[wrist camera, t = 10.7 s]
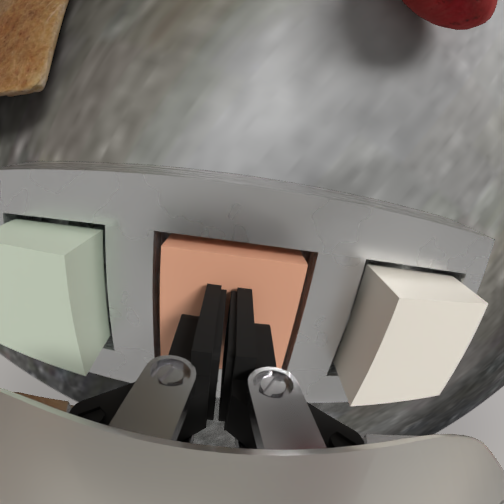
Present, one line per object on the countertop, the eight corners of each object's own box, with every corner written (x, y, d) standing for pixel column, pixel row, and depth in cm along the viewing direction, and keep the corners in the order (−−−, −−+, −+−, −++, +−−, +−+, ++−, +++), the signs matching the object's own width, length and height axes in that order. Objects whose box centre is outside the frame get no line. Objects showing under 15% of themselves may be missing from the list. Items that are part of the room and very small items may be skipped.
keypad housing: (449, 218, 15) (494, 239, 11) (399, 354, 18) (424, 393, 14) (33, 161, 13) (-15, 170, 9) (45, 311, 16) (13, 344, 12)
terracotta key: (294, 239, 13) (307, 265, 10) (273, 334, 15) (279, 373, 12) (178, 224, 13) (161, 245, 10) (173, 322, 14) (160, 359, 12)
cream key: (451, 275, 12) (488, 303, 9) (415, 360, 13) (439, 395, 11) (366, 264, 11) (399, 297, 9) (333, 362, 13) (350, 406, 10)
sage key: (103, 229, 11) (64, 255, 8) (110, 335, 12) (85, 376, 9) (15, 218, 10) (-26, 237, 7) (30, 313, 12) (0, 343, 9)
